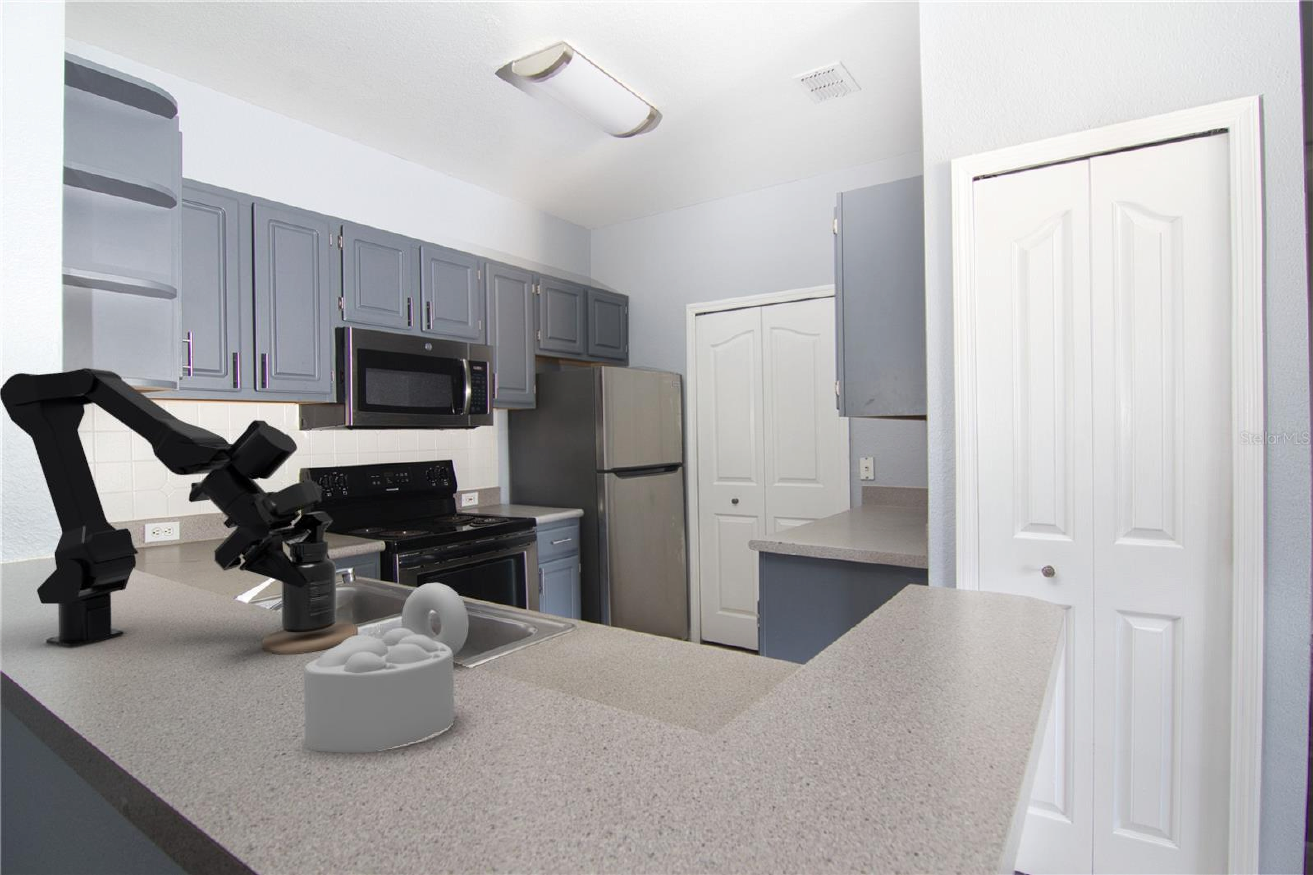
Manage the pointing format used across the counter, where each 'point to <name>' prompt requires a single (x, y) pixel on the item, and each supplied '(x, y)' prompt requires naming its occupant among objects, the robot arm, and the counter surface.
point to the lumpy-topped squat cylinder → (378, 692)
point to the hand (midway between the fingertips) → (318, 579)
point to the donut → (447, 610)
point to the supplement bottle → (310, 589)
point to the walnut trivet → (308, 639)
